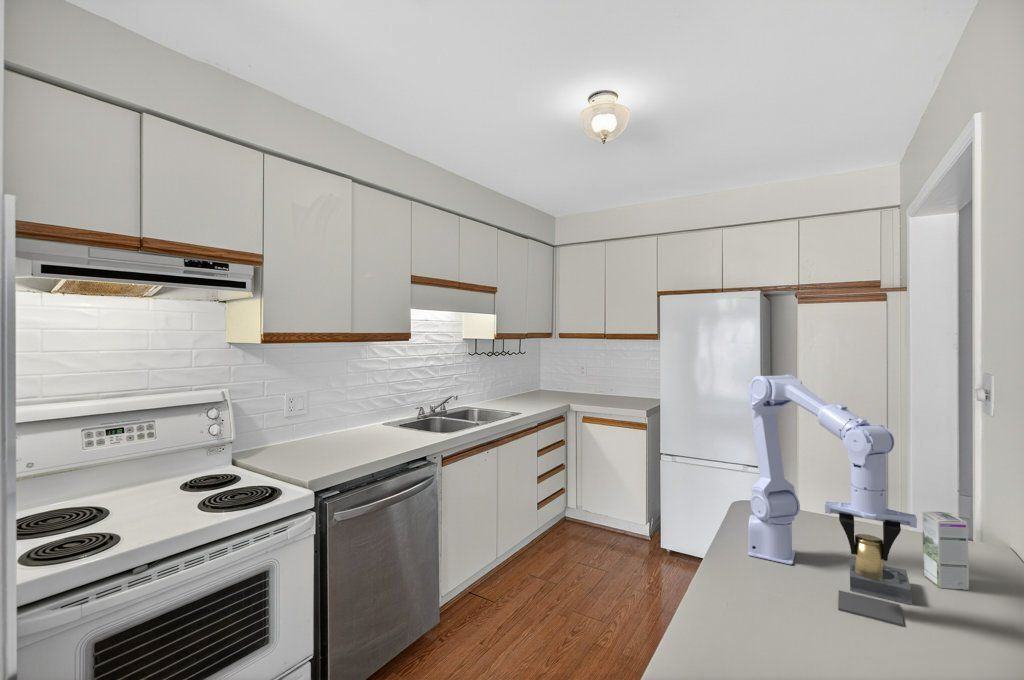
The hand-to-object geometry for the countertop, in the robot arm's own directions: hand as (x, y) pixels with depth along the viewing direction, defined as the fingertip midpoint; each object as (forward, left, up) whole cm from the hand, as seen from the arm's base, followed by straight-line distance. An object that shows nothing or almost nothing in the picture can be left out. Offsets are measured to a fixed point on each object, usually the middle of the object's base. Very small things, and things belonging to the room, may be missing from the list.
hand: (868, 555), depth 96 cm
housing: (+2, +11, -10) cm, 15 cm away
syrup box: (+14, +21, -11) cm, 27 cm away
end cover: (0, 0, -4) cm, 4 cm away
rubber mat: (0, 0, -10) cm, 10 cm away
